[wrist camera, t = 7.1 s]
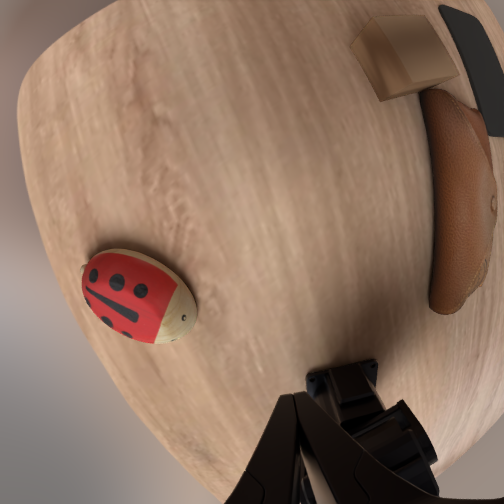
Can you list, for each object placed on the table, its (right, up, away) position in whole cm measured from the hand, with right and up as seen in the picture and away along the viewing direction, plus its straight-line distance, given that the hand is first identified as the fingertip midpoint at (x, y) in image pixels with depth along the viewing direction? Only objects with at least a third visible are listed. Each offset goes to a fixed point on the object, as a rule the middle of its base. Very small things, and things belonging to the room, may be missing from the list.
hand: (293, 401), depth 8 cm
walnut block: (+9, +19, +8) cm, 23 cm away
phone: (+22, +24, +7) cm, 33 cm away
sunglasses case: (+17, +9, +11) cm, 22 cm away
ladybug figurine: (-10, +2, +12) cm, 16 cm away
